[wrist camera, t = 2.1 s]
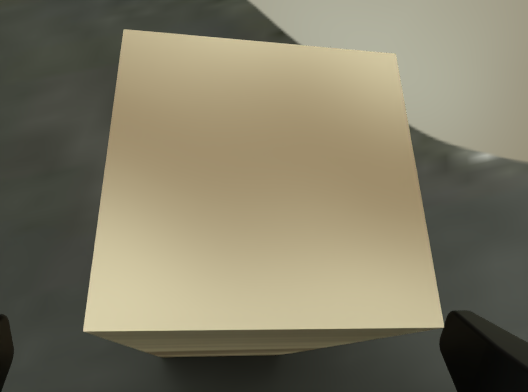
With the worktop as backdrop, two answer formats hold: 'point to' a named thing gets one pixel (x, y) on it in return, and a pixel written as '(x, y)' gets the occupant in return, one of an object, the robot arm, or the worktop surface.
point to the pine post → (258, 201)
